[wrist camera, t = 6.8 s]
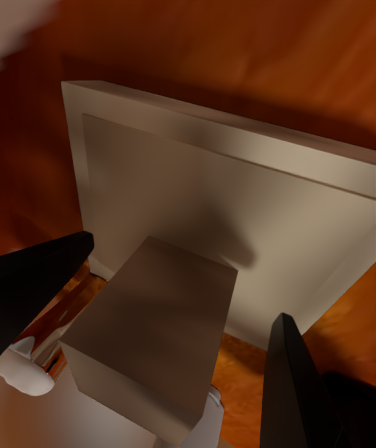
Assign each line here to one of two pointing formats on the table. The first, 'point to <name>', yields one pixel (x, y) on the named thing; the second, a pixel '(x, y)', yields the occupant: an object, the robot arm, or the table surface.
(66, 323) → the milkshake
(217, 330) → the walnut block
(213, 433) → the grey ridged slab
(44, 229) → the table surface
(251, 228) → the base
